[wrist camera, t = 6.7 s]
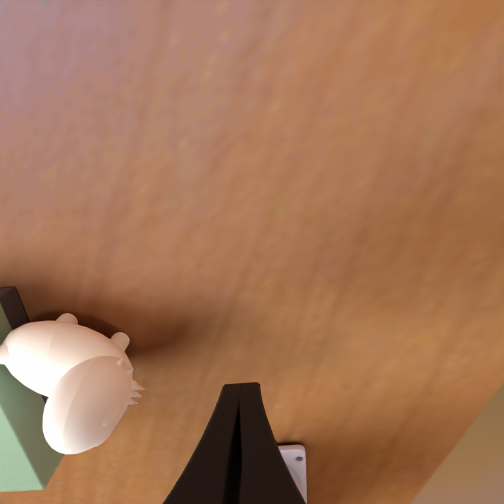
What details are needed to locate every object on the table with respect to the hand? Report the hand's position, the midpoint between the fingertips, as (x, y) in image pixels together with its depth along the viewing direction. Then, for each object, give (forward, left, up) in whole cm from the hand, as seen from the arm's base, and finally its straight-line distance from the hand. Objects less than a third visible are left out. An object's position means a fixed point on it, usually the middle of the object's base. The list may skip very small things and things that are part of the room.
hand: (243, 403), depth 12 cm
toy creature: (-1, +9, -7) cm, 12 cm away
